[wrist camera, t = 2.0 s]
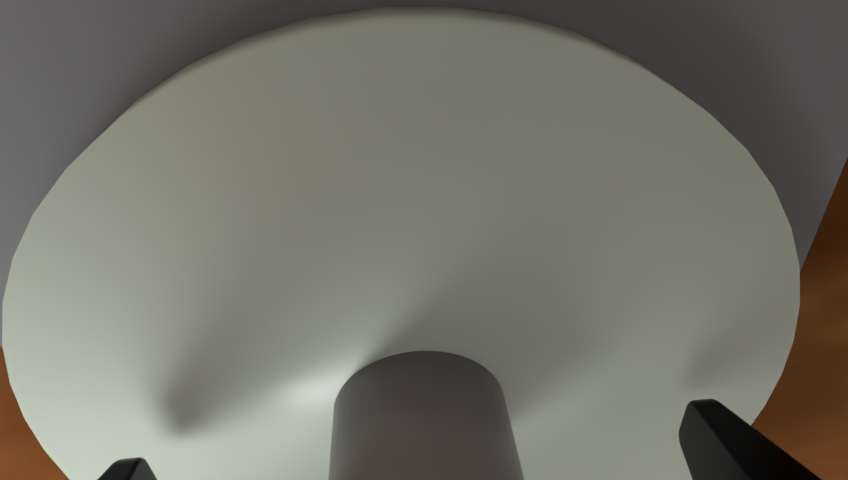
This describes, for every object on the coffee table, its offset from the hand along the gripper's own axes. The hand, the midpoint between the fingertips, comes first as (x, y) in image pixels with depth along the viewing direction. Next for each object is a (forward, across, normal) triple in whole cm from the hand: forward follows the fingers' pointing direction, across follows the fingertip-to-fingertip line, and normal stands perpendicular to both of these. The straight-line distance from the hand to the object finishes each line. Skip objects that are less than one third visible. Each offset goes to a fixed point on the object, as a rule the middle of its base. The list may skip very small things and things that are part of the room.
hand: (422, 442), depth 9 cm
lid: (+2, 0, 0) cm, 2 cm away
